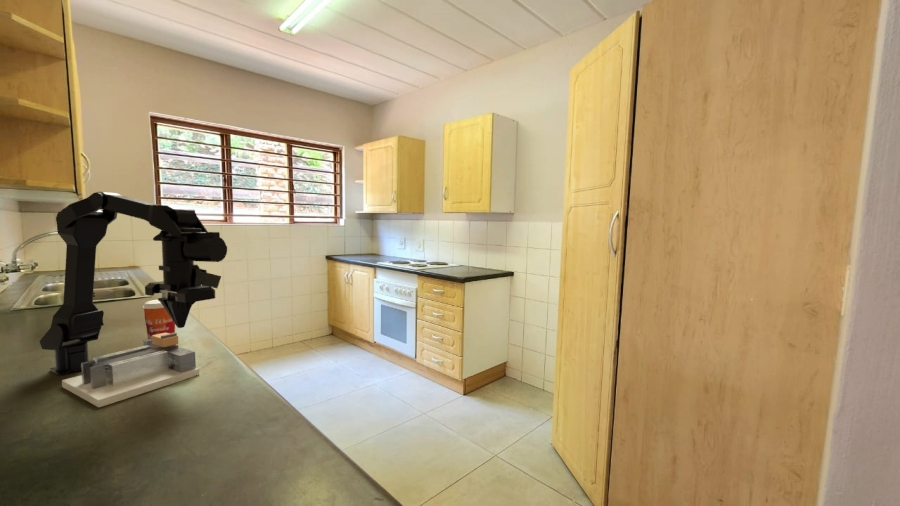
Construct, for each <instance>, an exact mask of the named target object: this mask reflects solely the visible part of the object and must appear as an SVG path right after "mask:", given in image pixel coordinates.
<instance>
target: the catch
mask: <svg viewBox="0 0 900 506" xmlns="http://www.w3.org/2000/svg"><path fill="white" fill-rule="evenodd" d="M177 334H178V333H177V332H175V333H172V334H169V333H161V334H157V335H152V344H155V345H158V346H162V347H168V346H172V345H178V344H179V336H178V335H177Z"/></svg>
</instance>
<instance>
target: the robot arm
mask: <svg viewBox="0 0 900 506" xmlns="http://www.w3.org/2000/svg"><path fill="white" fill-rule="evenodd" d="M118 214H122V215H125V216H128V217H133V218H136V219H140V220H144V221H145V222H147V223H148V224H149V225H150V226H152V227H154V228H155V229H158V230H160V232H159V233H157V234H156V235H155V236H153V238H152V240H153V241H156V242H159V241H160V242H161V253H162V257H161V258H162V264H161V265H158V270H159V271H162V277H163V278H162V279H163V280H162V281H154V282H149V283H147V284H146V285H145V286H144V293H145V294H144V295H146V296H155V294H161V297H159V298H157V300H158V301H160V302H161V304H162V305H163V307H164V308H165V309H166V311H167V312H168V314H169V315H170V317H171V318H172V320H173V321H174V323H175V327H176V328H178V329H182V328H184V327H185V326H186V322H187V320H188V317H189V314H190V310H191V308H192V306H193V305H194V304H195V303H196V302H202V301H207V300H208V301H209V300H214V299H216V289H219V284H220V281H221V278H222V276H221V275H217V274H215V273H214V274H213V273H210V272H208V270H206V269H202V268H200V265H198V264H195V262H205V263H207V262H208V263H209V262H211V263H213V262H214V263H218V262H219V263H220V262H222V261H223V260H224V259H225V258H226V256H227V254H228V246H227V245H226V244H227V243H226V242H225V240H224V239H223V238H222V237H221V236H220V235H221V233H220V231H208V230H207V228H206V227H205V225H203V223H202V221H201V220H200V218H199V217H198V216H197V213H196V209H193V208H192V207H190V206H179V205H167V204H166V205H165V204H164V205H163V204H161V205H160V204H155V203H152V202H149V201H144V200H141V199H137V198H133V197H128V196H124V195H122V194H119V193H117V192H110V191H109V192H107V191H97V192H96V191H95V192H93V193H92V194H90V195H89V196H88V197H85V198H83V199H80V200H77V201H75V202H73V203H69V204H68V205H67V206H65V207H64V208H63V209H61V210H60V211H58V212H57V213H56V216H55V222H56V230H57V234H58V235H59V236H60V238H61V239H62V240H63V242H65V244H66V249H65V271H64V285H63V286H64V287H63V288H64V290H63V303H62V305H60V307H59V308H58V309H57V311H56V312H55V313H54V314H53V315H52V320H51V324H50V328H49V329H47V331H46V332H45V333H44V335H43V336H42V337H41V339H40V340H39V344H40V347H41V349H42V350H45V351H46V350H48V351H49V350H50V351H54V364H55V366H54V367H50V368H49V371H50V372H51V373H54V374H55V375H57V376H61V375H66V374H70V373H74V372H77V371H82V370H81V363H83V362H87V361H90V360H89V359H90V357H89V342H92V341H97V340H99V336H100V332H101V329H102V326H104V320H103V319H104V314H105V313H104V310H103V309H98V307H97V306H96V305H95V304H94V286H95V271H96V256H97V255H96V254H97V246H98V245H99V243H100V242H101V241H102V240H103V239H104V238H105V237H106V235H107V230H108V225H110V224H112V222H114V221H115V220H116V219H117V217H118Z"/></svg>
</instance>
